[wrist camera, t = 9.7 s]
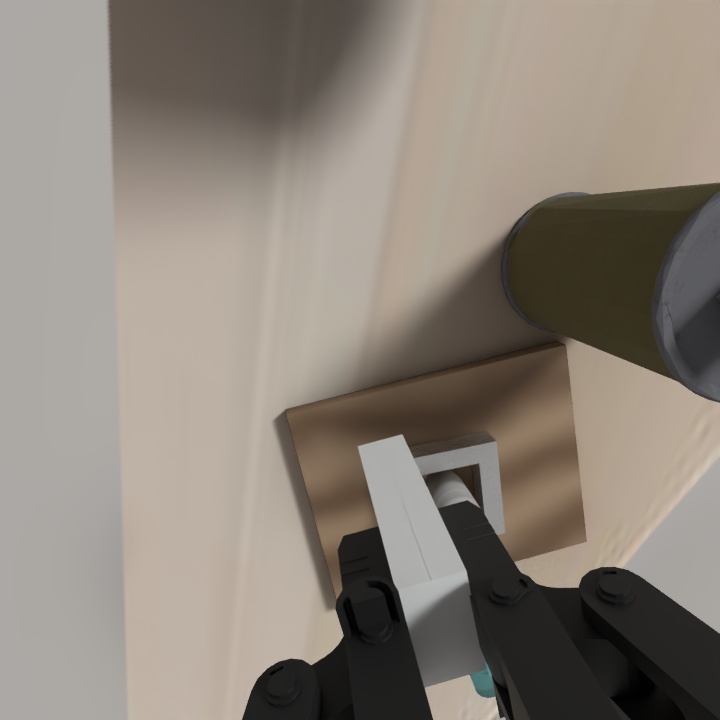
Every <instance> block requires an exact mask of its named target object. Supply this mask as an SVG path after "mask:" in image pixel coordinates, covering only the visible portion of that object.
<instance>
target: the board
mask: <svg viewBox="0 0 720 720" xmlns="http://www.w3.org/2000/svg"><path fill="white" fill-rule="evenodd" d="M286 416H287V420H288V423H289V427H290V431H291V434H292V438H293V442H294V445H295V449H296V453H297V456H298V460H299V464H300V467H301V471H302V475H303V478H304V482H305V486H306V489H307V493H308V496H309V500H310V504H311V507H312V511H313V515H314V518H315V522H316V526H317V529H318V533H319V537H320V540H321V544H322V548H323V551H324V555H325V559H326V562H327V566H328V570H329V573H330V577H331V581H332V584H333V588H334V592H335V595H336V599H337V598H338V596H339V595H340V593H341V592H342V582H341V574H340V565H339V558H338V548H339V545H340V543H341V540H342V538H343V536H345V535H348V534H352V533H356V532H359V531H363V530H366V529H370V528H374V527H377V526H378V522H377V518H376V515H375V511H374V507H373V503H372V499H371V495H370V492H369V488H368V484H367V480H366V476H365V472H364V469H363V465H362V461H361V457H360V453H359V449H358V446H361V445H364V444H368V443H372V442H375V441H379V440H383V439H387V438H390V437H394V436H398V435H401V434H402V435H403V437H404V439H405V441H406V443H407V445H408V447H410V446H415V445H420V444H425V443H430V442H435V441H440V440H445V439H449V438H454V437H459V436H464V435H469V434H474V433H479V432H484V431H488V432H489V434H490V435H491V436H492V437H493V438H494V439H495V440H496V441H497V449H498V460H499V471H500V482H501V493H502V504H503V515H504V525H505V533H504V534H500V535H498V537H499V539H500V540H501V542H502V544H503V545H504V547H505V548H506V550H507V552H508V553H509V555H510V557H511V558H512V560H513V562H515V561H519V560H522V559H526V558H530V557H533V556H537V555H540V554H544V553H547V552H551V551H555V550H558V549H562V548H565V547H569V546H573V545H576V544H580V543H583V542H587V540H586V531H585V521H584V512H583V502H582V493H581V483H580V474H579V464H578V455H577V445H576V436H575V426H574V417H573V407H572V398H571V388H570V378H569V369H568V359H567V350H566V345H565V344H563V343H561V342H554V343H550V344H546V345H542V346H538V347H534V348H530V349H526V350H522V351H518V352H514V353H510V354H506V355H502V356H498V357H494V358H490V359H486V360H482V361H478V362H474V363H470V364H466V365H462V366H458V367H453V368H449V369H445V370H441V371H437V372H433V373H429V374H425V375H421V376H417V377H413V378H409V379H405V380H401V381H397V382H393V383H389V384H385V385H381V386H377V387H373V388H369V389H365V390H361V391H357V392H353V393H349V394H345V395H341V396H337V397H333V398H329V399H325V400H321V401H317V402H313V403H309V404H305V405H301V406H297V407H293V408H289V409H286ZM422 477H423V479H424V482H425V484H426V486H427V488H428V490H429V492H430V494H431V496H432V499H433V501H434V503H435V505H436V507H437V508H441V507H444V506H448V505H452V504H455V503H459V502H462V501H466V500H468V501H470V502H471V503H473V504H474V505H476V506H478V507H479V505H478V504H477V502H476V500H475V490H474V481H473V472H472V465H468V466H464V467H459V468H454V469H449V470H445V471H440V472H435V473H430V474H426V475H422ZM479 508H480V507H479Z"/></svg>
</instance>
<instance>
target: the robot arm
mask: <svg viewBox="0 0 720 720" xmlns="http://www.w3.org/2000/svg"><path fill="white" fill-rule="evenodd" d="M358 449H359V453H360V457H361V461H362V465H363V469H364V472H365V476H366V480H367V484H368V488H369V492H370V495H371V499H372V503H373V507H374V511H375V515H376V518H377V522H378V526H377V527H374V528H370V529H366V530H363V531H359V532H356V533H352V534H348V535H345V536H343V538H342V540H341V543H340V545H339V548H338V558H339V565H340V574H341V582H342V592H341V593H340V595H339V596H338V598H337V602H336V612H337V615H338V618H339V621H340V625H341V628H342V631H343V634H344V637H343V638H342V640H341V642H340V643H339V645H338V646H337V647H336V648H335V649H334V650H333V651H332V652H331V653H330V654H328V655H327V656H326V657H324V658H323V659H321V660H319V661H318V662H316V663H314V664H313V665H310V664H308V663H306V662H305V661H303V660H299V659H288V660H284V661H280V662H278V663H276V664H274V665H273V666H271V667H269V668H268V669H267V670H266V671H265V672H264V673H263V674H262V675H261V676H260V677H259V678H258V679H257V681H256V683H255V685H254V687H253V689H252V691H251V694H250V697H249V700H248V703H247V706H246V709H245V712H244V715H243V719H242V720H433V718H432V714H431V710H430V707H429V703H428V699H427V696H426V692H425V687H428V686H431V685H435V684H438V683H442V682H445V681H448V680H452V679H455V678H459V677H462V676H465V675H469V674H472V673H476V672H479V671H482V670H486V665H485V660H486V663H487V665H488V667H489V670H490V672H491V675H492V680H493V685H494V690H495V695H496V700H497V705H498V710H499V715H500V718H502V717H505V718H506V720H720V634H719V633H718V632H717V631H715V630H714V629H712V628H711V627H710V626H708V625H707V624H705V623H704V622H703V621H701V620H700V619H698V618H697V617H696V616H694V615H693V614H691V613H690V612H689V611H687V610H686V609H685V608H683V607H682V606H680V605H679V604H677V603H676V602H675V601H673V600H672V599H671V598H669V597H668V596H666V595H665V594H664V593H662V592H661V591H660V590H658V589H657V588H655V587H654V586H653V585H651V584H650V583H648V582H647V581H646V580H644V579H643V578H641V577H640V576H638V575H636V574H634V573H632V572H630V571H629V570H625V569H621V568H616V567H601V568H598V569H595V570H591V571H589V572H588V573H587V574H586V575H585V576H583V577H582V579H581V582H580V585H579V588H551V587H546V586H542V585H538V584H536V583H535V582H534V581H533V580H532V579H531V578H530V577H529V576H527V575H525V574H522V573H521V572H520V571H519V570H518V568H517V566H516V565H515V563H514V562H513V560H512V558H511V557H510V555H509V553H508V552H507V550H506V548H505V547H504V545H503V544H502V542H501V540H500V539H499V537H498V535H497V534H496V533H495V530H494V529H493V527H492V526H491V524H490V523H489V521H488V519H487V517H486V516H485V514H484V513H483V511H482V509H481V508H479V507H478V506H476V505H474V504H473V503H471V502H470V501H468V500H466V501H462V502H459V503H455V504H452V505H448V506H444V507H441V508H437V507H436V505H435V503H434V501H433V499H432V496H431V494H430V492H429V490H428V488H427V486H426V484H425V482H424V479H423V477H422V475H421V473H420V471H419V469H418V467H417V465H416V462H415V460H414V458H413V456H412V454H411V452H410V450H409V447H408V445H407V443H406V441H405V439H404V437H403V435H402V434H401V435H398V436H394V437H390V438H387V439H383V440H379V441H375V442H372V443H368V444H364V445H361V446H358ZM484 658H485V660H484Z"/></svg>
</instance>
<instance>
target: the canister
mask: <svg viewBox="0 0 720 720" xmlns="http://www.w3.org/2000/svg"><path fill="white" fill-rule="evenodd" d="M502 279H503V284H504V288H505V292H506V296H507V298H508V300H509V301H510V303H511V305H512V306H513V307H514V309H515V310H516V311H517V313H518V314H519V315H520V316H521V317H522V318H523V319H524V320H526V321H527V322H528V323H530V324H532V325H534V326H536V327H538V328H540V329H543V330H548V331H552V332H558V333H560V334H563V335H565V336H567V337H570V338H572V339H575V340H577V341H580V342H582V343H585V344H587V345H590V346H592V347H595V348H597V349H599V350H602V351H604V352H607V353H609V354H612V355H614V356H617V357H619V358H622V359H624V360H627V361H629V362H631V363H634V364H636V365H639V366H641V367H644V368H646V369H649V370H651V371H654V372H656V373H658V374H661V375H663V376H666V377H668V378H671V379H673V380H676V381H678V382H680V383H681V384H682V385H684V386H685V387H686V388H688V389H689V390H691V391H692V392H693V393H695V394H697V395H699V396H701V397H704V398H706V399H708V400H712V401H716V402H719V403H720V183H711V184H700V185H690V186H679V187H668V188H657V189H647V190H636V191H625V192H615V193H604V194H593V195H591V194H587V193H581V192H570V193H563V194H559V195H556V196H553V197H550V198H547V199H545V200H544V201H542V202H540V203H538V204H536V205H535V206H534V207H533V208H532V209H531V210H530V211H529V212H528V213H527V214H526V215H525V216H524V217H523V218H522V219H521V220H520V221H519V222H518V224H517V225H516V226H515V228H514V229H513V231H512V233H511V235H510V237H509V238H508V240H507V244H506V248H505V252H504V256H503V260H502Z"/></svg>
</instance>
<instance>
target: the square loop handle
mask: <svg viewBox="0 0 720 720" xmlns="http://www.w3.org/2000/svg"><path fill="white" fill-rule="evenodd" d="M409 450H410V452H411V454H412V456H413V458H414V460H415V462H416V465H417V467H418V469H419V471H420V473H421V475H426V474H430V473H435V472H440V471H445V470H449V469H454V468H459V467H464V466H468V465H472V472H473V481H474V490H475V500H476V502H477V504H478V505H479V507H480V508H481V509H482V511H483V513H484V514H485V516H486V517H487V519H488V521H489V523H490V524H491V526H492V527H493V529H494V530H495V533H496V534H497V535H500V534H504V533H505V525H504V515H503V504H502V493H501V482H500V471H499V460H498V449H497V441H496V440H495V439H494V438H493V437H492V436H491V435H490V434H489V432H488V431H484V432H479V433H474V434H469V435H464V436H459V437H454V438H449V439H445V440H440V441H435V442H430V443H425V444H420V445H415V446H410V447H409ZM484 660H485V658H484ZM485 665H486V670H482V671H479V672H476V673H472V674H470V676H471V679H472V681H473V684H474V686H475V689H476V691H477V693H478V694H479V695H480V696H482V697H487V698H490V697H494V696H496V695H495V690H494V685H493V680H492V675H491V672H490V670H489V667H488V665H487V663H486V660H485Z"/></svg>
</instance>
